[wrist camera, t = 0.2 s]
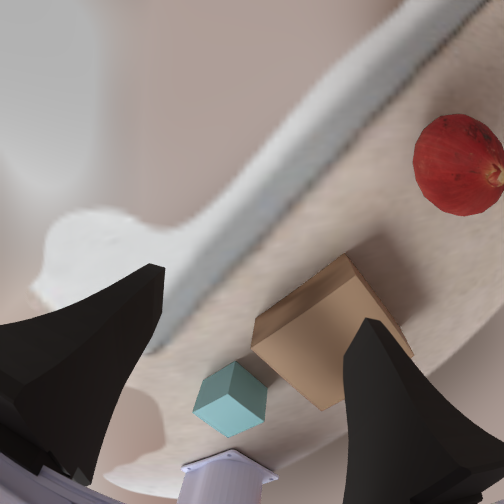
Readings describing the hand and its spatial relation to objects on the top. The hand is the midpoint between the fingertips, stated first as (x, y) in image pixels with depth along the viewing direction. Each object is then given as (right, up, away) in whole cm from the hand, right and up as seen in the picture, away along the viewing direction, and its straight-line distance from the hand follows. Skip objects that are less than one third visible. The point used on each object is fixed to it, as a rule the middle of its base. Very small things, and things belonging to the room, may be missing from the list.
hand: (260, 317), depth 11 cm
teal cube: (-2, -9, +15) cm, 17 cm away
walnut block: (+6, -3, +12) cm, 14 cm away
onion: (+12, +8, +7) cm, 16 cm away
